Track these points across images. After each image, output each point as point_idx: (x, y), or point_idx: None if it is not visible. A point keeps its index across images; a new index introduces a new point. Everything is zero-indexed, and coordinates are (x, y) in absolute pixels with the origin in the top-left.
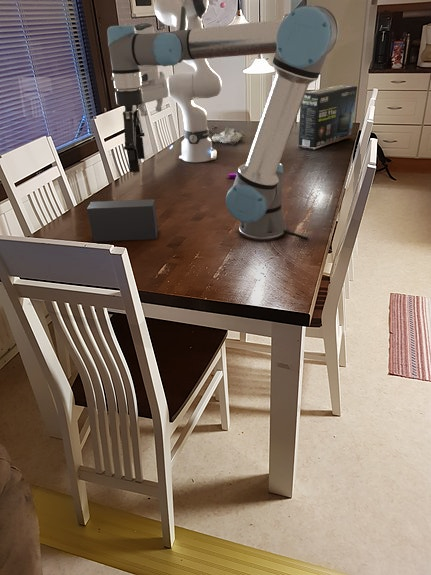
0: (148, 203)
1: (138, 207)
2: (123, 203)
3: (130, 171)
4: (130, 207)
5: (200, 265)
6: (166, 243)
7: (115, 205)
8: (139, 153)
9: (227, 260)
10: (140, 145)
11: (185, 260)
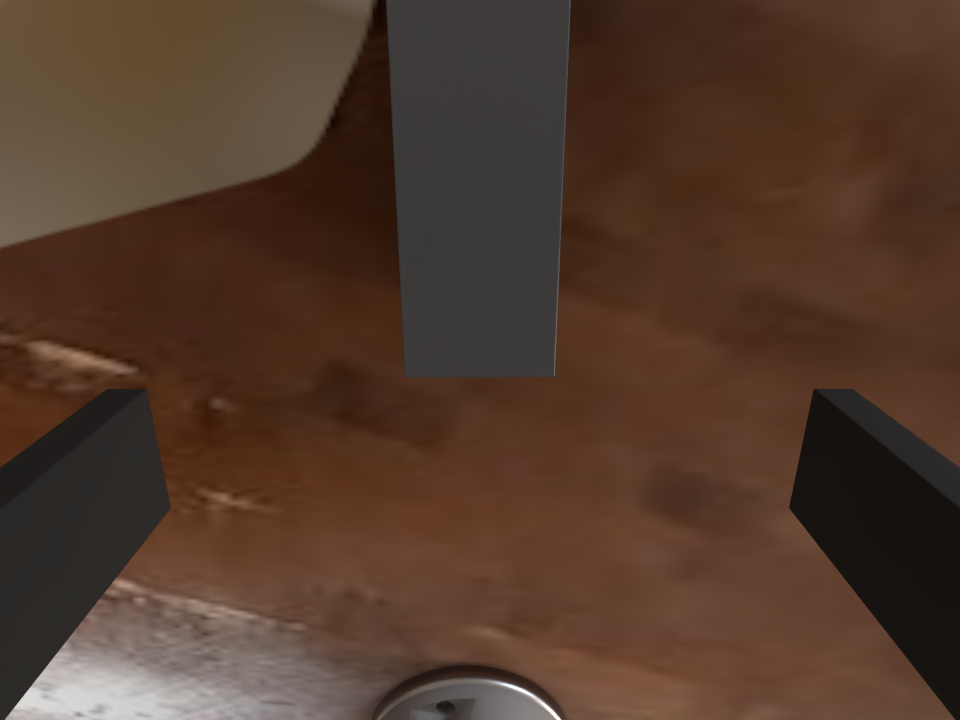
0: (461, 341)
1: (400, 266)
2: (486, 122)
3: (103, 401)
4: (396, 200)
5: None
6: (369, 358)
7: (441, 48)
8: (849, 497)
9: (194, 611)
10: (931, 631)
11: (180, 455)
